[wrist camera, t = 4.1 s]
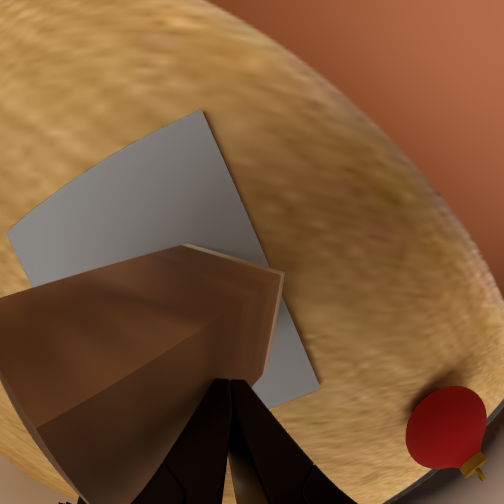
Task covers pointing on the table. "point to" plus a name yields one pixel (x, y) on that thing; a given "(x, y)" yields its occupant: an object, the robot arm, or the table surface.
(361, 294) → the table surface
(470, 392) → the christmas ornament
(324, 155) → the table surface
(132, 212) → the mat
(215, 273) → the walnut block
